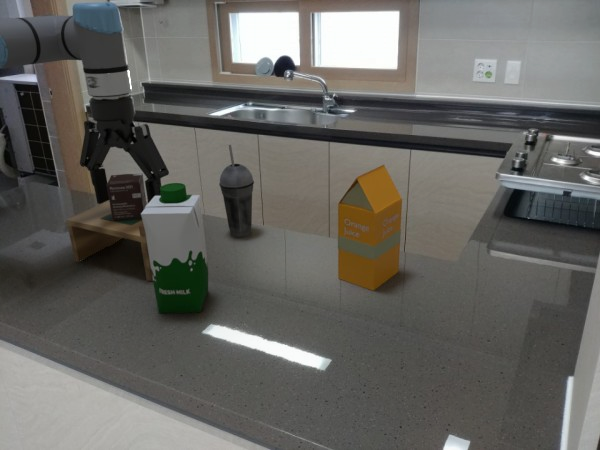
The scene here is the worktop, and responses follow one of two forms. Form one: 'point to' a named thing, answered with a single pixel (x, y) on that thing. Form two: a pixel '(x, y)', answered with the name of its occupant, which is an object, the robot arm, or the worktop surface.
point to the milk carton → (176, 249)
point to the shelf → (105, 233)
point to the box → (126, 196)
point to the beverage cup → (237, 197)
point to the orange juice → (369, 230)
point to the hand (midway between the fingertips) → (129, 206)
